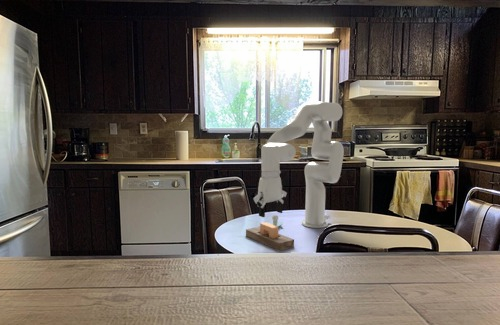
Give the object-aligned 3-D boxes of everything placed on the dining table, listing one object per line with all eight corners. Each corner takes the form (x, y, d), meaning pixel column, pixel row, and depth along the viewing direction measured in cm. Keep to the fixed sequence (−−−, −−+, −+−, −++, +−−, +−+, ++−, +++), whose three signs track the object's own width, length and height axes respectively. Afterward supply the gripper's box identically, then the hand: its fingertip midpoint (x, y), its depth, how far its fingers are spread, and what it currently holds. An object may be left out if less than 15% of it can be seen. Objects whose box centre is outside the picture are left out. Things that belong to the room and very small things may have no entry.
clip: (265, 237, 145) (265, 222, 144) (278, 243, 138) (278, 226, 138) (259, 239, 143) (260, 223, 143) (272, 244, 137) (272, 228, 136)
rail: (259, 232, 152) (260, 226, 152) (293, 246, 134) (294, 239, 134) (245, 236, 147) (245, 229, 147) (279, 250, 130) (279, 243, 129)
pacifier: (267, 225, 165) (267, 228, 159) (267, 212, 165) (268, 215, 159) (281, 225, 165) (283, 228, 159) (281, 213, 165) (283, 215, 159)
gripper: (279, 171, 146) (280, 209, 149) (248, 175, 136) (249, 216, 138) (291, 173, 140) (291, 212, 143) (259, 178, 130) (260, 220, 132)
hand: (270, 214), depth 140 cm, fingers open, 9 cm apart
